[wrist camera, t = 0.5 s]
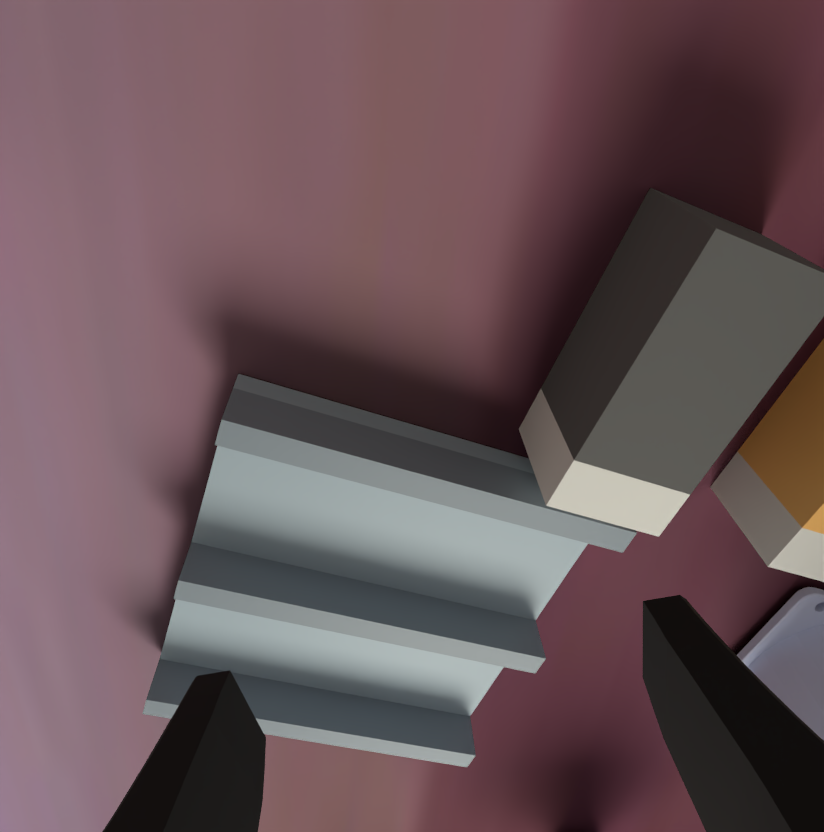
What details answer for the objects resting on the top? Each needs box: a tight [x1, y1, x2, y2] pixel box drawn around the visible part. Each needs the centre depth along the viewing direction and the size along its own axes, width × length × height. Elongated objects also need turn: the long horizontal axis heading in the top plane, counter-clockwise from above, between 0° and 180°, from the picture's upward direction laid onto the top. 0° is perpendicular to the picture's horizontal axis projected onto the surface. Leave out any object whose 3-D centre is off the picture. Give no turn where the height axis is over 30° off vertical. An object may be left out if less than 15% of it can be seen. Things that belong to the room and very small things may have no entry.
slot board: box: [143, 374, 637, 767], centre depth 21 cm, size 12×12×2 cm
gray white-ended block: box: [519, 188, 824, 537], centre depth 17 cm, size 8×3×4 cm, turn 159°
